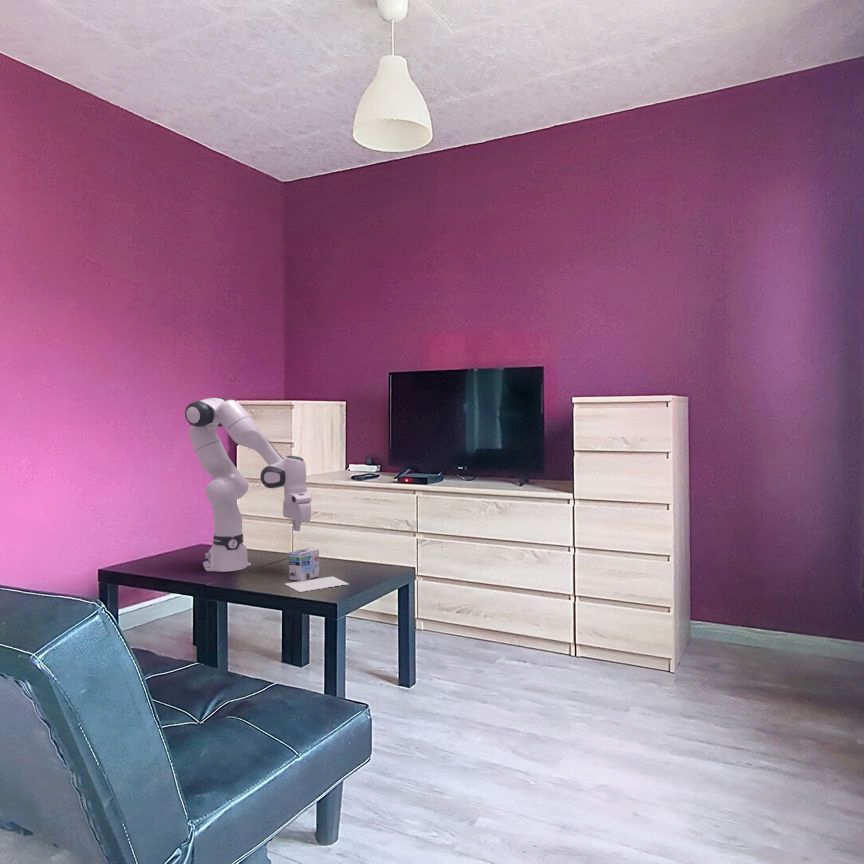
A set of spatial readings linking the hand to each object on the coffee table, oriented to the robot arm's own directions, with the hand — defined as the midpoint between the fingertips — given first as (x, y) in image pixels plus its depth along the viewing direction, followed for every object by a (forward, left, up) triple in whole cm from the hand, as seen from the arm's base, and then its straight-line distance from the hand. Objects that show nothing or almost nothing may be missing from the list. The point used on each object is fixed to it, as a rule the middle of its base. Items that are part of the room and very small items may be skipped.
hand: (296, 530), depth 266 cm
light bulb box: (+8, 0, -18) cm, 20 cm away
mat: (+20, 0, -18) cm, 26 cm away
